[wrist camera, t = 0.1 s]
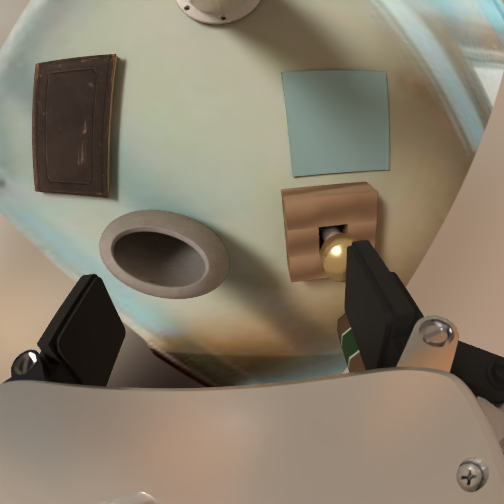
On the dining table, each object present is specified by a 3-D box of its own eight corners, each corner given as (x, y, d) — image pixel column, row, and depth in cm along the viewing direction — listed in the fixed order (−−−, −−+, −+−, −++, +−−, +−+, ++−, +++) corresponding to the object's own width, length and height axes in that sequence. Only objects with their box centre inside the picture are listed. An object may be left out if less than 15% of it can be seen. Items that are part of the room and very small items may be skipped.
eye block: (281, 189, 47) (284, 200, 43) (366, 181, 46) (377, 192, 42) (287, 265, 54) (291, 282, 50) (363, 256, 53) (372, 271, 49)
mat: (281, 72, 38) (281, 72, 38) (384, 71, 37) (385, 71, 37) (292, 175, 46) (293, 176, 46) (388, 168, 45) (389, 169, 45)
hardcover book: (121, 55, 36) (115, 54, 34) (112, 192, 47) (107, 197, 45) (41, 64, 35) (33, 64, 32) (40, 187, 46) (33, 191, 44)
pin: (307, 210, 49) (324, 246, 38) (343, 206, 48) (368, 241, 38) (309, 243, 52) (324, 284, 41) (343, 239, 51) (365, 278, 41)
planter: (238, 218, 49) (234, 288, 33) (225, 254, 53) (217, 332, 36) (130, 186, 46) (76, 240, 30) (123, 224, 49) (75, 288, 33)
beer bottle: (329, 332, 63) (355, 430, 42) (344, 305, 59) (380, 405, 38) (360, 336, 64) (391, 428, 43) (376, 310, 60) (417, 404, 39)
